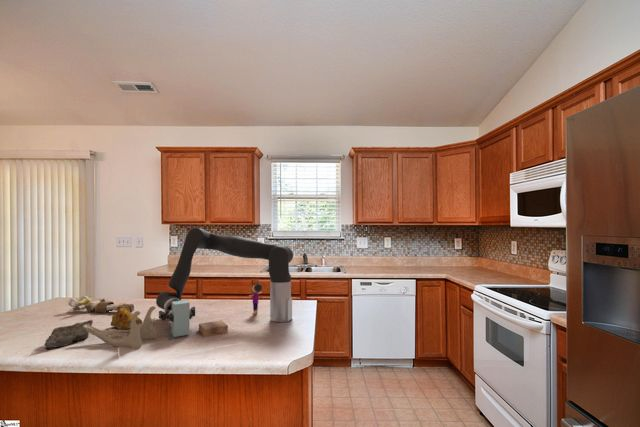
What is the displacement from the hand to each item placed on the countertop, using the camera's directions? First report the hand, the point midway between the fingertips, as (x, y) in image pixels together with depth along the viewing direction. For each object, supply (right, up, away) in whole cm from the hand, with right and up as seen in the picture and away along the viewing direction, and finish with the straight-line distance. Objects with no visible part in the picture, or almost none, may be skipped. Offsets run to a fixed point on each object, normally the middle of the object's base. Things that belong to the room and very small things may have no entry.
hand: (181, 317), depth 126 cm
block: (-1, -7, +2) cm, 7 cm away
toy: (+22, -9, +33) cm, 41 cm away
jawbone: (-21, -8, -6) cm, 23 cm away
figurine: (-55, -9, +38) cm, 68 cm away
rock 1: (-39, -8, -5) cm, 40 cm away
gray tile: (-2, -8, +2) cm, 8 cm away
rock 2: (-29, -8, +13) cm, 33 cm away
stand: (+10, -8, +6) cm, 14 cm away
